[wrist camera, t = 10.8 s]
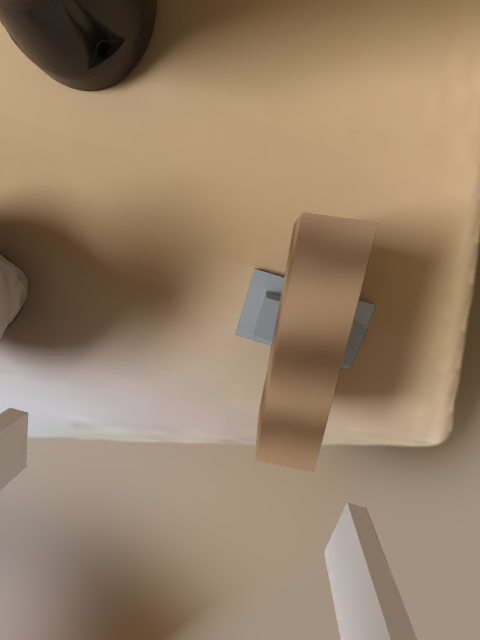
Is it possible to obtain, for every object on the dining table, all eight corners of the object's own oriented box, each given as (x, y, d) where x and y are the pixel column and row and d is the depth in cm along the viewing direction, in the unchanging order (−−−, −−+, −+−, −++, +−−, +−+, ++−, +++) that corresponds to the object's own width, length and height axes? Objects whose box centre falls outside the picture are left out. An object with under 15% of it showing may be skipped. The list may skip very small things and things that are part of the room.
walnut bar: (294, 223, 24) (303, 212, 18) (351, 231, 24) (378, 223, 18) (257, 419, 29) (255, 460, 23) (304, 428, 29) (314, 471, 23)
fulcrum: (255, 268, 31) (252, 271, 25) (372, 304, 31) (397, 315, 25) (235, 332, 33) (229, 348, 27) (346, 366, 33) (363, 389, 27)
